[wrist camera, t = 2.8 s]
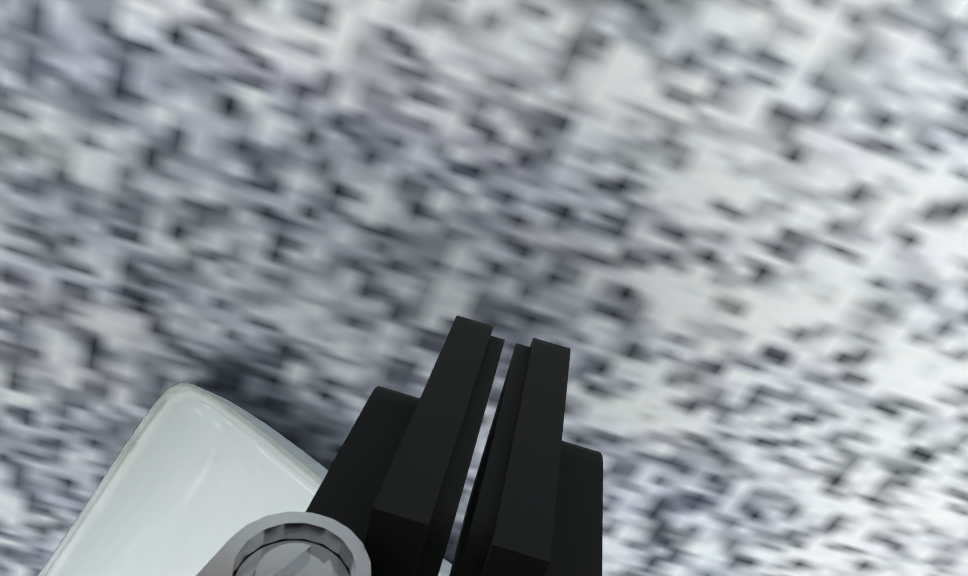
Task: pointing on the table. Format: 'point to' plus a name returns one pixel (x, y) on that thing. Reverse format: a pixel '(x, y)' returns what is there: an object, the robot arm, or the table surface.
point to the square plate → (186, 490)
